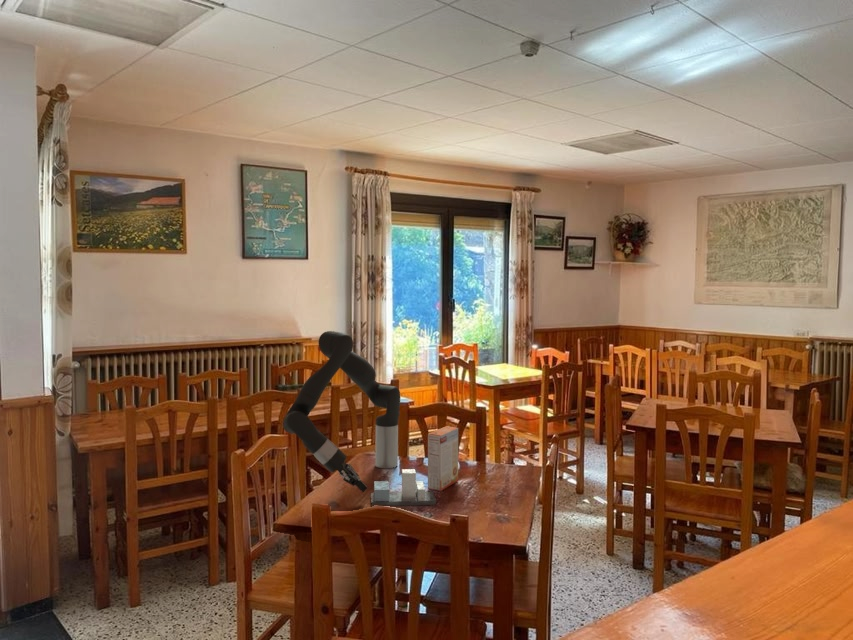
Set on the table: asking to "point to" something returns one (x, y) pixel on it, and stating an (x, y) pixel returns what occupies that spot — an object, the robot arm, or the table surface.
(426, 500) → the vise bed
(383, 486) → the sliding jaw
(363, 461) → the table surface
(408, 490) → the steel block
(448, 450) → the cracker box
